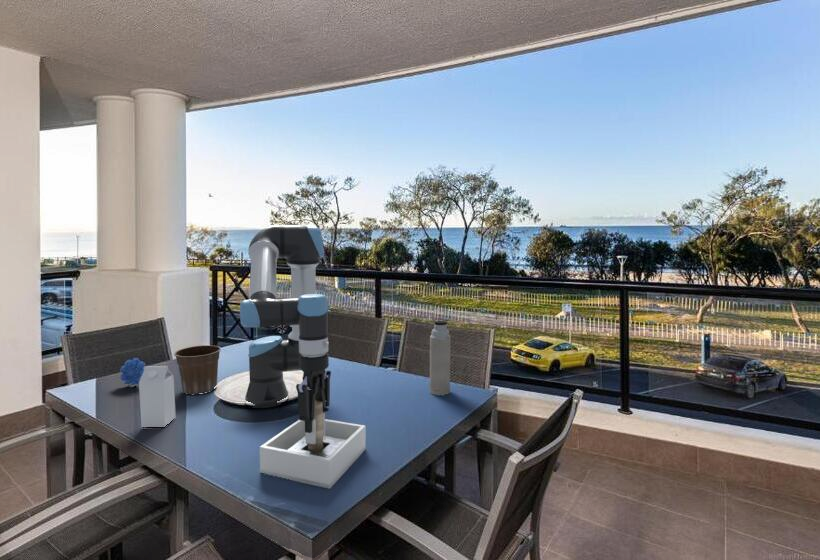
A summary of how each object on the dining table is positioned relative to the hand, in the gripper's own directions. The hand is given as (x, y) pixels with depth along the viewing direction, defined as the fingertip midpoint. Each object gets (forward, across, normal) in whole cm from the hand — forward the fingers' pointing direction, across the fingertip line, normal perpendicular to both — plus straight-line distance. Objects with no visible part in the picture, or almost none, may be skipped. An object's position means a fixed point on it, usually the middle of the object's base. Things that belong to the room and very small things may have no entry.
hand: (315, 438), depth 111 cm
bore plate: (+6, 0, 0) cm, 6 cm away
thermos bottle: (+6, +61, -18) cm, 64 cm away
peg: (+4, 0, 0) cm, 4 cm away
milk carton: (+6, +3, +60) cm, 60 cm away
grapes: (+6, +26, +100) cm, 104 cm away
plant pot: (+6, +31, +72) cm, 79 cm away
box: (+6, 0, 0) cm, 6 cm away
